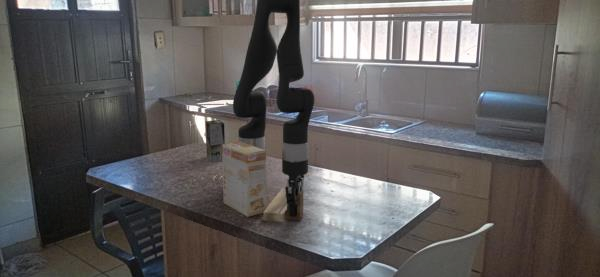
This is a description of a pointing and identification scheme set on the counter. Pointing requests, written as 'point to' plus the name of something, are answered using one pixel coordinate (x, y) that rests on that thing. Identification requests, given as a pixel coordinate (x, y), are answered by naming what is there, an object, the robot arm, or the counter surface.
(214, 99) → the counter surface
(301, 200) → the brown block with peg
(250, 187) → the coffeecake box
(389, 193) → the counter surface
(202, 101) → the counter surface
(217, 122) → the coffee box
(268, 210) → the board
